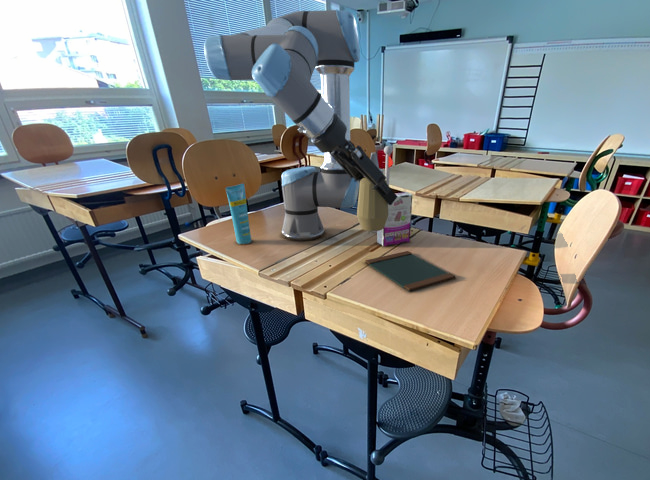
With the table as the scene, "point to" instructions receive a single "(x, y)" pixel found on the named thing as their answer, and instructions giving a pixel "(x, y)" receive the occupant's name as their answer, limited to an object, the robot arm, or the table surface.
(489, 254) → the table surface
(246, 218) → the tube
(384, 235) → the candy bar box
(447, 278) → the desk pad
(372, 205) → the squeeze bottle
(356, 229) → the table surface
